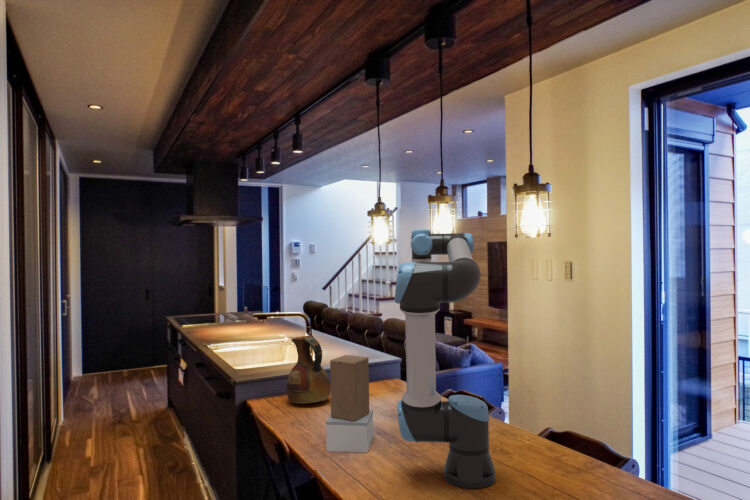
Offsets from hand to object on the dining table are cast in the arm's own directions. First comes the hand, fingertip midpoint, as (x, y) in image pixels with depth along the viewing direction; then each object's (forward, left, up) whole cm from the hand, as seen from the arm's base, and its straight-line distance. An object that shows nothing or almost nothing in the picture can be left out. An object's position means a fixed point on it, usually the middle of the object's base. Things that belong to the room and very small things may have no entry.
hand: (422, 326), depth 192 cm
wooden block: (-18, +25, -29) cm, 42 cm away
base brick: (-18, +25, -39) cm, 49 cm away
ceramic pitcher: (+29, +53, -39) cm, 72 cm away
